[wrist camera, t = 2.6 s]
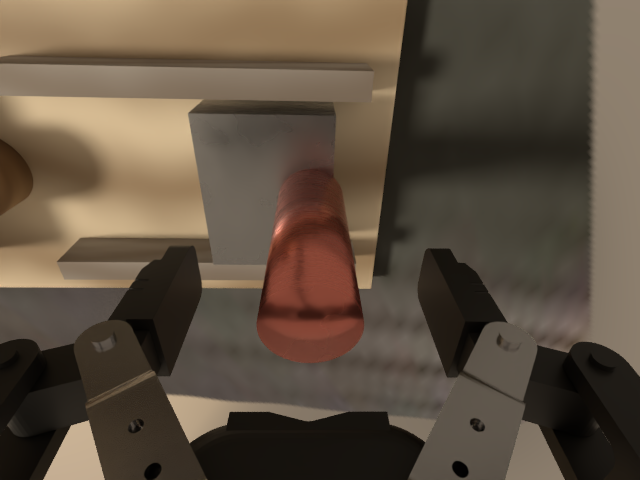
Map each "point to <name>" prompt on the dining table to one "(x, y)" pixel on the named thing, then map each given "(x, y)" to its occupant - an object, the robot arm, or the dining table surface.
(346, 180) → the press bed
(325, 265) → the plate with copper rod
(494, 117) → the dining table surface
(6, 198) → the nut
